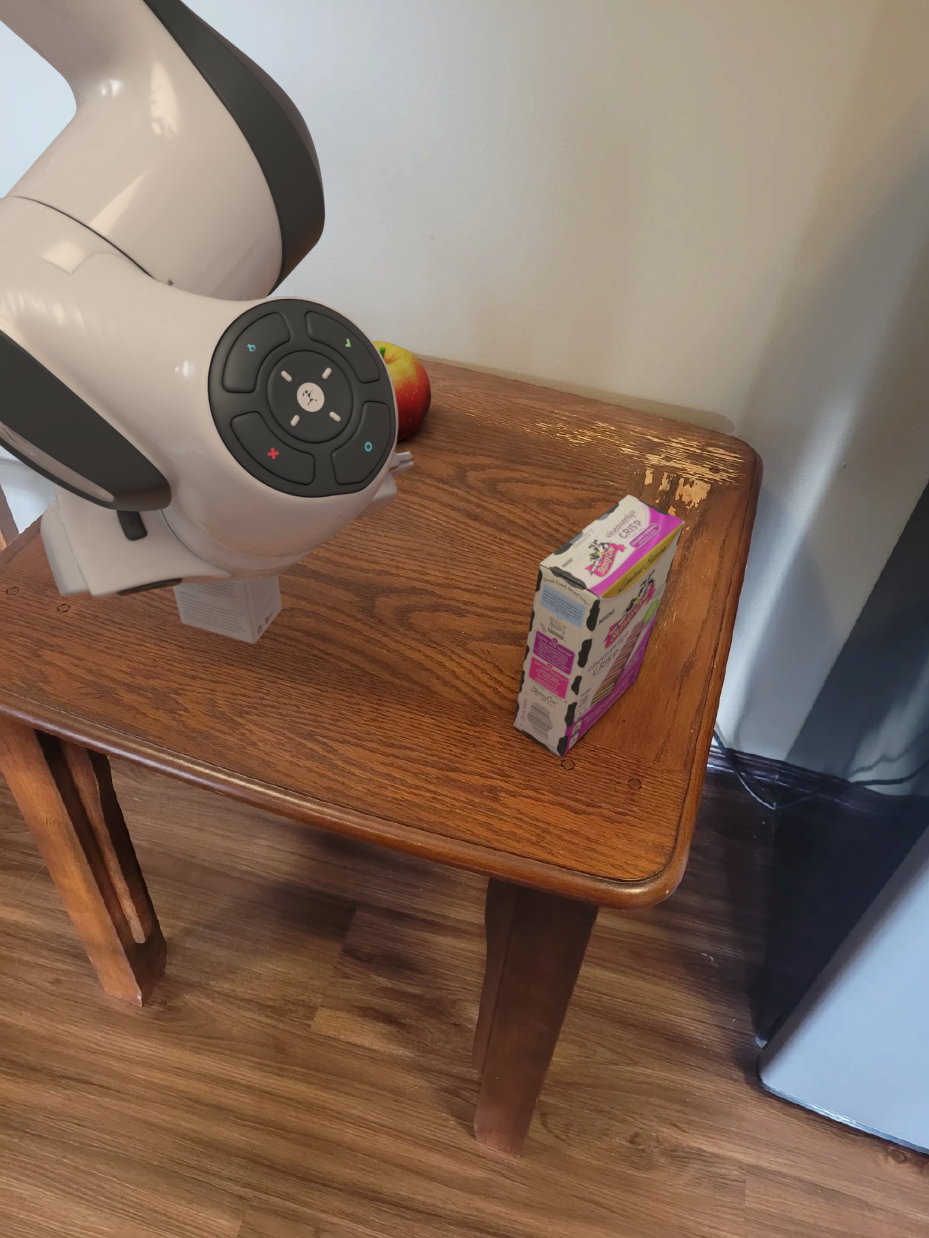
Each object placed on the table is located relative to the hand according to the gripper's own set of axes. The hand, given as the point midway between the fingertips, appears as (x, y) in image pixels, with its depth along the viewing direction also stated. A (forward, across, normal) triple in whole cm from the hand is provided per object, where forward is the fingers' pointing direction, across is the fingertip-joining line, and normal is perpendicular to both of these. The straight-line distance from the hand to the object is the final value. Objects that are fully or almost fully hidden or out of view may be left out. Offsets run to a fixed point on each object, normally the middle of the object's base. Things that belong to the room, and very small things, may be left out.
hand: (215, 538), depth 57 cm
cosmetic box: (+4, 0, +5) cm, 7 cm away
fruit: (+32, -26, -11) cm, 43 cm away
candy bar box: (+1, -23, +20) cm, 30 cm away
